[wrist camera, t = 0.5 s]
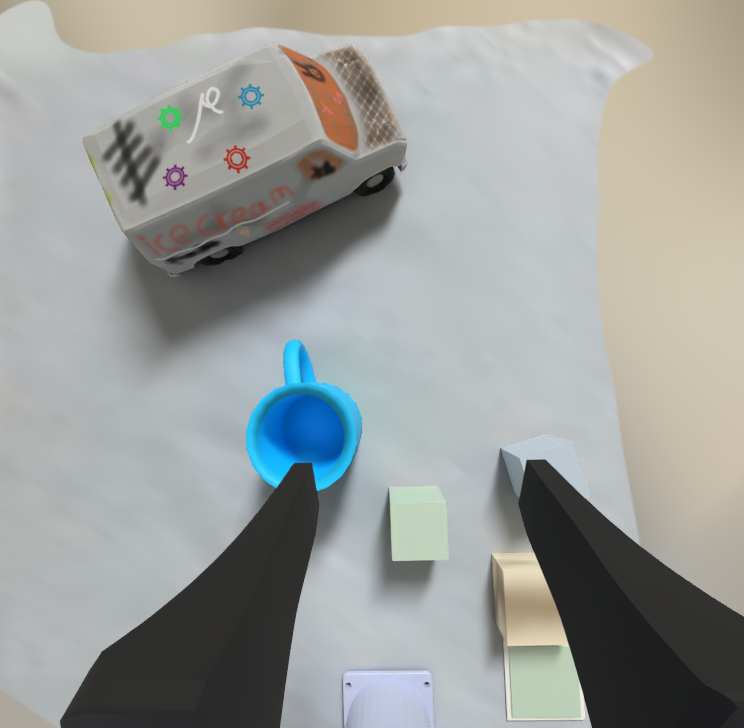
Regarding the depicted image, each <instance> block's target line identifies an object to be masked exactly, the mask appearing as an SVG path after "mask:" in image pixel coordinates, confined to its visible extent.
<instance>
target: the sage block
mask: <svg viewBox="0 0 744 728" xmlns="http://www.w3.org/2000/svg"><path fill="white" fill-rule="evenodd" d="M389 498H390V527H391V549H392V561H418V560H449V554H448V530H447V506H446V501H445V499H444V497H443V495H442V493H441V492H440V490H439V488H438V486H406V487H389Z"/></svg>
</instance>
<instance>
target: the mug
mask: <svg viewBox="0 0 744 728" xmlns="http://www.w3.org/2000/svg"><path fill="white" fill-rule="evenodd" d="M283 364H284V376H285V383H286V385H285V386H282V387H279V388H277V389H274V390H273V391H272V392H270V393H269V394H268V395H267V396H265V397H264V398H263V399H262V400H261V401H260V402H259V404H258V405H257V406H256V408H255V409H254V411H253V412H252V414H251V416H250V420H249V423H248V427H247V430H246V445H247V452H248V454H249V457H250V460H251V463H252V466H253V467H254V468H255V470H256V471H257V472H258V474H259V475H260V476H261V478H262V479H263V480H265V481H266V482H267V483H269V484H270V485H272V486H273V487H275V488H277V486H278V485H279V483H280V482H281V481H282V479H283V478H284V476H285V475H286V473H287V472H288V470H289V469H290V467H291V466H292V465H293V464H294V463H312V465H313V471H314V477H315V483H316V489H317V491H319V490H322V489H325V488H327V487H329V486H330V485H331V484H333V483H334V482H335V481H336V480H338V479H339V478H340V477H341V476H342V475H343V473H344V472H345V470H346V469H347V467H348V466H349V464H350V463H351V461H352V458H353V456H354V454H355V451H356V449H357V446H358V444H359V440H360V436H361V433H362V419H361V415H360V412H359V409H358V407H357V404H356V403H355V402H354V401H353V399H352V398H351V397H350V395H349V394H348V393H346V392H345V391H343V390H341V389H340V388H338V387H337V386H333V385H329V384H326V383H316V380H315V376H314V372H313V369H312V365H311V362H310V359H309V356H308V353H307V351H306V349H305V346H304V345H303V344H302V342H301V341H299V340H292V341H289V342H287V344H286V345H285V349H284V359H283ZM300 375H301V376H300ZM301 378H302V382H303V383H302V382H301Z"/></svg>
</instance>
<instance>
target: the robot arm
mask: <svg viewBox="0 0 744 728" xmlns="http://www.w3.org/2000/svg"><path fill="white" fill-rule="evenodd" d="M519 507H520V511H521V515H522V519H523V522H524V526H525V529H526V533H527V536H528V538H529V541H530V543H531V546H532V548H533V551H534V553H535V556H536V558H537V561H538V563H539V566H540V568H541V570H542V573H543V575H544V578H545V580H546V583H547V585H548V587H549V590H550V592H551V595H552V597H553V600H554V602H555V605H556V607H557V610H558V613H559V616H560V618H561V621H562V625H563V628H564V631H565V634H566V638H567V641H568V644H569V647H570V651H571V654H572V657H573V661H574V664H575V668H576V671H577V675H578V678H579V681H580V685H581V688H582V692H583V695H584V699H585V703H586V707H587V710H588V714H589V718H590V722H591V725H592V728H744V617H743V616H742V615H740V614H738V613H737V612H735V611H733V610H732V609H730V608H728V607H727V606H725V605H724V604H722V603H721V602H719V601H717V600H716V599H714V598H712V597H711V596H709V595H708V594H706V593H705V592H703V591H702V590H700V589H699V588H697V587H696V586H695V585H693V584H692V583H690V582H689V581H687V580H685V579H684V578H683V577H681V576H680V575H678V574H677V573H675V572H674V571H673V570H671V569H670V568H668V567H667V566H666V565H664V564H663V563H662V562H660V561H659V560H658V559H656V558H655V557H654V556H652V555H651V554H650V553H648V552H647V551H646V550H644V549H643V548H642V547H641V546H639V545H638V544H637V543H636V542H634V541H633V540H632V539H631V538H629V537H628V536H627V535H626V534H625V533H623V532H622V531H621V530H620V529H619V528H617V527H616V526H615V525H614V524H613V523H612V522H610V521H609V520H608V519H607V518H606V517H605V516H604V515H603V514H601V513H600V512H599V511H598V510H597V509H596V508H595V507H594V506H593V505H592V504H591V503H590V502H589V501H587V500H586V499H585V498H584V497H583V496H582V495H581V494H580V493H579V492H578V491H577V490H576V489H575V488H574V487H573V486H572V485H571V484H570V483H569V482H568V481H567V480H566V479H565V478H564V477H563V476H562V475H561V474H560V473H559V472H558V471H557V470H556V469H555V468H554V467H553V466H552V465H551V464H550V463H549V462H548V461H547V460H546V459H538V460H526V466H525V471H524V476H523V482H522V487H521V493H520V498H519ZM318 510H319V501H318V495H317V489H316V483H315V477H314V471H313V465H312V463H294V464H293V465H292V466H291V467H290V469H289V470H288V472H287V473H286V475H285V476H284V478H283V479H282V481H281V482H280V483H279V485H278V486H277V488H276V489H275V490H274V492H273V493H272V495H271V496H270V497H269V499H268V500H267V501H266V502H265V504H264V505H263V506H262V508H261V509H260V510H259V512H258V513H257V514H256V515H255V517H254V518H253V519H252V520H251V521H250V523H249V524H248V525H247V526H246V527H245V528H244V530H243V531H242V532H241V533H240V534H239V535H238V537H237V538H236V539H235V540H234V541H233V542H232V543H231V544H230V545H229V546H228V548H227V549H226V550H225V551H224V552H223V553H222V554H221V555H220V556H219V557H218V558H217V559H216V560H215V561H214V562H213V563H212V564H211V565H210V566H209V567H208V568H207V569H206V570H204V571H203V572H202V573H201V574H200V575H199V576H198V577H197V578H196V579H195V580H194V581H193V582H192V583H190V584H189V585H188V586H187V587H186V588H185V589H184V590H183V591H181V592H180V593H179V594H178V595H176V596H175V597H174V598H173V599H172V600H170V601H169V602H168V603H167V604H166V605H164V606H163V607H162V608H161V609H159V610H158V611H157V612H156V613H155V614H153V615H152V616H151V617H149V618H148V619H147V620H146V621H144V622H143V623H142V624H140V625H139V626H137V627H136V628H135V629H133V630H132V631H130V632H129V633H128V634H126V635H125V636H123V637H122V638H121V639H119V640H118V641H117V642H115V643H114V644H112V645H111V646H109V647H108V648H107V649H105V650H104V651H102V652H101V654H100V655H99V657H98V659H97V660H96V661H95V663H94V664H93V666H92V667H91V669H90V670H89V672H88V674H87V676H86V677H85V679H84V681H83V682H82V684H81V686H80V688H79V689H78V691H77V693H76V694H75V696H74V698H73V700H72V701H71V703H70V705H69V707H68V708H67V710H66V712H65V713H64V715H63V717H62V719H61V720H60V725H61V728H280V722H281V714H282V707H283V699H284V691H285V684H286V677H287V670H288V663H289V656H290V649H291V643H292V636H293V630H294V624H295V617H296V612H297V608H298V603H299V599H300V595H301V591H302V587H303V583H304V578H305V574H306V570H307V566H308V562H309V558H310V554H311V550H312V546H313V542H314V538H315V533H316V526H317V518H318ZM425 682H429V683H428V684H424V683H425ZM346 683H350V684H351V685H347V684H346ZM343 707H344V728H434V714H433V689H432V675H431V673H430V672H429V671H427V670H403V671H347V672H345V673H344V675H343Z"/></svg>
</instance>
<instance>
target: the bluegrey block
mask: <svg viewBox="0 0 744 728" xmlns="http://www.w3.org/2000/svg"><path fill="white" fill-rule="evenodd" d="M500 449H501V452H502V455H503V458H504V461H505V464H506V467H507V471H508V474H509V477H510V480H511V483H512V486H513V489H514V492H515V495H516V496H517V497H519V498H520V493H521V487H522V482H523V476H524V471H525V466H526V460H538V459H546V460H547V461H548V462H549V463H550V464H551V465H552V466H553V467H554V468H555V469H556V470H557V471H558V472H559V473H560V474H561V475H562V476H563V477H564V478H565V479H566V480H567V481H568V482H569V483H570V484H571V485H572V486H573V487H574V488H575V489H576V490H577V491H578V492H579V493H580V494H581V495H582V496H583V497H584V498H585V499H586V498H589V497H592V496H591V493H590V490H589V487H588V484H587V481H586V478H585V475H584V472H583V469H582V466H581V463H580V460H579V457H578V454H577V451H576V448H575V445H574V442H572V441H569V440H565V439H562V438H559V437H555V436H552V435H548V434H545V435H541V436H538V437H535V438H531V439H528V440H525V441H521V442H518V443H515V444H511V445H508V446H505V447H501V448H500Z"/></svg>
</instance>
